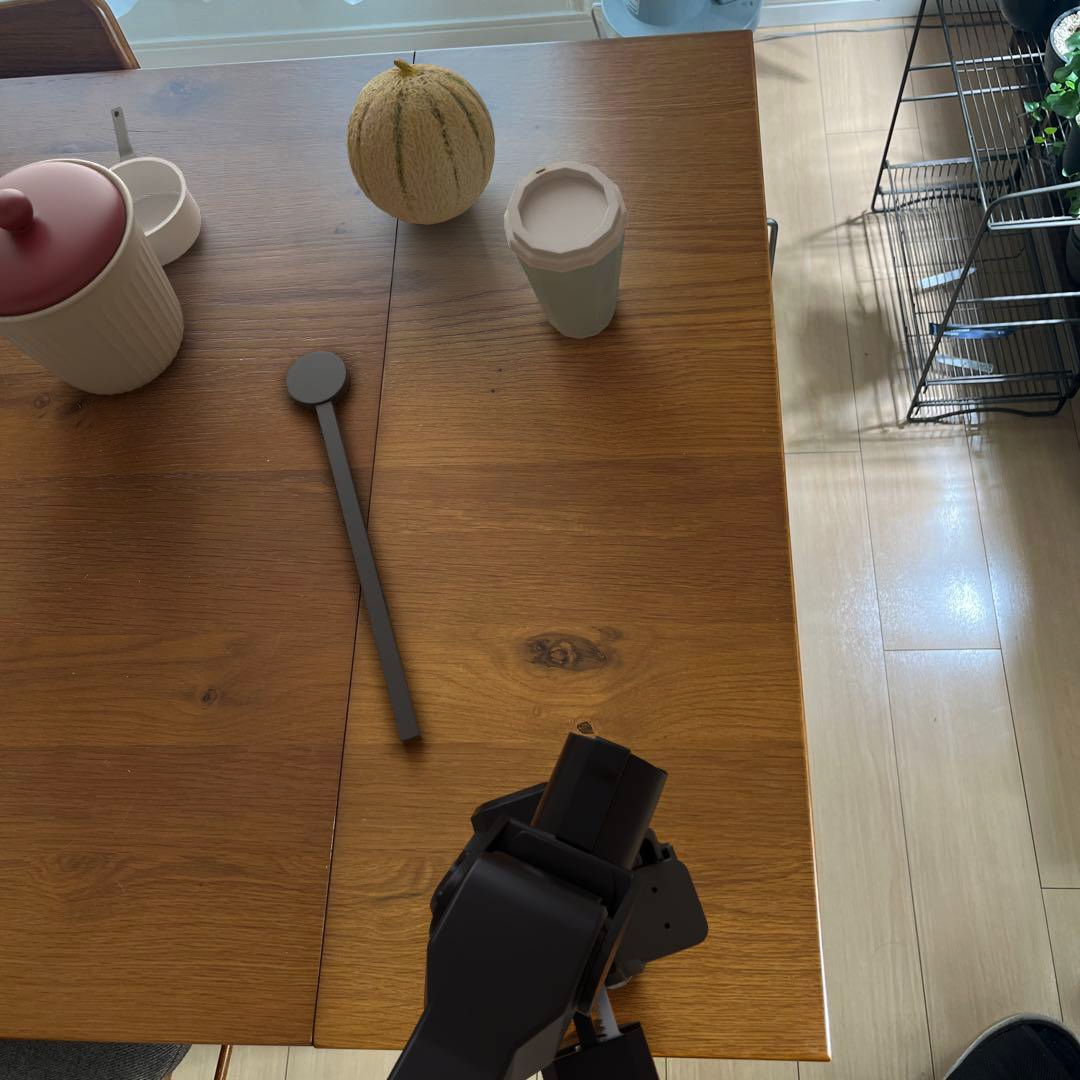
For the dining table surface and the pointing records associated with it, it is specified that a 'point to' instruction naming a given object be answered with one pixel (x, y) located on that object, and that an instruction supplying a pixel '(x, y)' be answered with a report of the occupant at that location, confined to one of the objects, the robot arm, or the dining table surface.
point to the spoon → (354, 520)
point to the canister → (83, 278)
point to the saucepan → (157, 198)
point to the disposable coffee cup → (569, 243)
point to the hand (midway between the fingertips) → (573, 950)
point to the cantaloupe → (421, 143)
